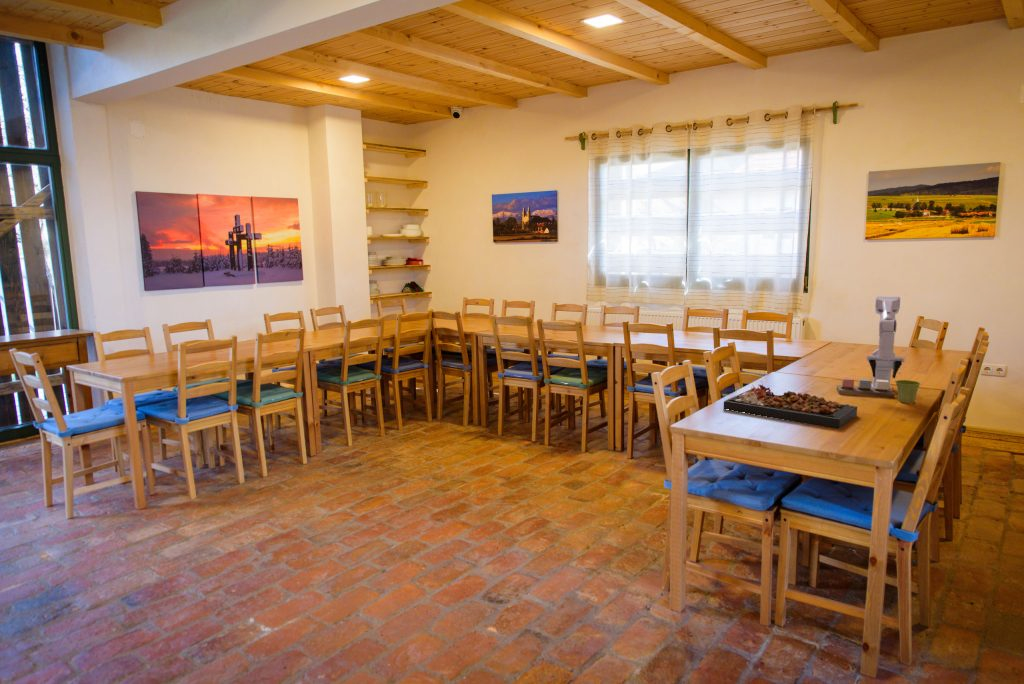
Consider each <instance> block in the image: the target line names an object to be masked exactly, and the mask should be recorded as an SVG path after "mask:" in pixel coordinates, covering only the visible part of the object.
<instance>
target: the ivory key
mask: <svg viewBox="0 0 1024 684" xmlns="http://www.w3.org/2000/svg"><path fill="white" fill-rule="evenodd" d="M876 388H877V389H886V390H889V381H888V380H877V379H876Z"/></svg>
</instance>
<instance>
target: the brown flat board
mask: <svg viewBox="0 0 1024 684" xmlns="http://www.w3.org/2000/svg"><path fill="white" fill-rule="evenodd" d="M836 392H837V393H838V395H843V396H856V397H857V396H859V397H874V398H886V399H894V397H895V393H894V392H893V390H891V389H890V388H889V390H886V389H877V388H874V387H872V386H871V389H870V388H859V386H855V385H854V387H842V384H841V385H839V384H836Z"/></svg>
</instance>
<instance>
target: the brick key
mask: <svg viewBox="0 0 1024 684" xmlns="http://www.w3.org/2000/svg"><path fill="white" fill-rule="evenodd" d="M841 385H842V387H854V386H855V379H854V377H842V378H841Z"/></svg>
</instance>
